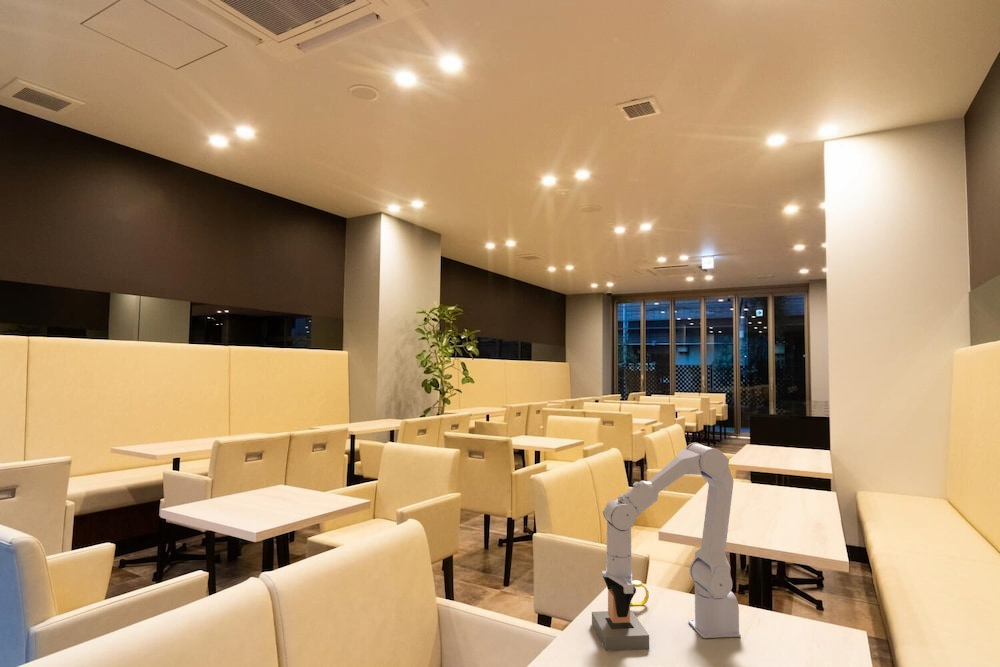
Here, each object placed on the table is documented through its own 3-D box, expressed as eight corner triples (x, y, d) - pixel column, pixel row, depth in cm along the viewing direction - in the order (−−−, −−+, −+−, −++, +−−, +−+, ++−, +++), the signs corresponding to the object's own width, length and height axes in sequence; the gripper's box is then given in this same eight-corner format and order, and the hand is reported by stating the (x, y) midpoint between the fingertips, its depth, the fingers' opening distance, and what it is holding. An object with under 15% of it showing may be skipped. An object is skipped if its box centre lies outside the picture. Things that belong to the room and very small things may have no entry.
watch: (628, 608, 142) (626, 585, 142) (624, 603, 145) (623, 581, 145) (650, 606, 142) (648, 583, 143) (646, 601, 145) (645, 579, 145)
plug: (624, 614, 130) (624, 588, 130) (629, 622, 126) (629, 595, 126) (608, 614, 129) (608, 589, 129) (613, 622, 125) (613, 596, 125)
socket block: (631, 622, 134) (631, 610, 134) (649, 648, 122) (649, 635, 122) (591, 624, 133) (591, 611, 133) (605, 650, 121) (605, 637, 121)
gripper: (594, 543, 135) (594, 598, 134) (611, 565, 120) (611, 627, 120) (621, 542, 136) (621, 597, 135) (642, 564, 121) (642, 626, 120)
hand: (619, 611), depth 127 cm, fingers closed on plug, 4 cm apart
